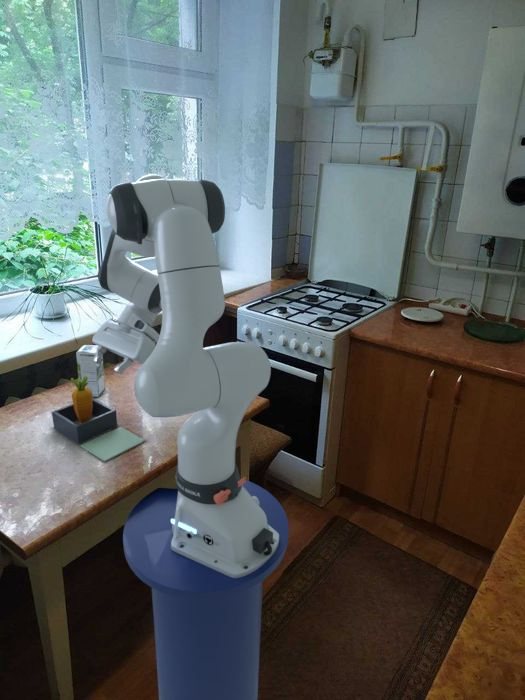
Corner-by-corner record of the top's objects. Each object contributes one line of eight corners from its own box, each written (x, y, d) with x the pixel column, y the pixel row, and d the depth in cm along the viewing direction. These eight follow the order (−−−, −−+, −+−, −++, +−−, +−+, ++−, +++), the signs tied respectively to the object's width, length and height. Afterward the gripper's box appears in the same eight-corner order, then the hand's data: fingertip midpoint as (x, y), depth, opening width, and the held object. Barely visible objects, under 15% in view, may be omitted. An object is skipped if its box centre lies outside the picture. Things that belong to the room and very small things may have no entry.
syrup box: (87, 387, 153) (82, 344, 148) (105, 388, 153) (101, 345, 148) (80, 396, 148) (74, 351, 143) (99, 397, 148) (95, 352, 142)
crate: (117, 426, 133) (116, 410, 131) (78, 444, 124) (76, 427, 123) (92, 412, 139) (90, 396, 138) (53, 428, 131) (51, 411, 129)
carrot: (72, 430, 130) (65, 378, 125) (83, 421, 135) (77, 371, 129) (88, 433, 129) (82, 381, 123) (99, 424, 134) (94, 374, 128)
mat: (145, 441, 127) (144, 440, 127) (104, 462, 118) (104, 460, 118) (120, 427, 132) (120, 426, 132) (80, 446, 124) (80, 445, 123)
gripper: (103, 310, 139) (76, 352, 136) (151, 327, 127) (122, 373, 124) (118, 321, 144) (91, 362, 141) (165, 339, 132) (137, 383, 129)
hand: (106, 367), depth 132 cm, fingers open, 8 cm apart
